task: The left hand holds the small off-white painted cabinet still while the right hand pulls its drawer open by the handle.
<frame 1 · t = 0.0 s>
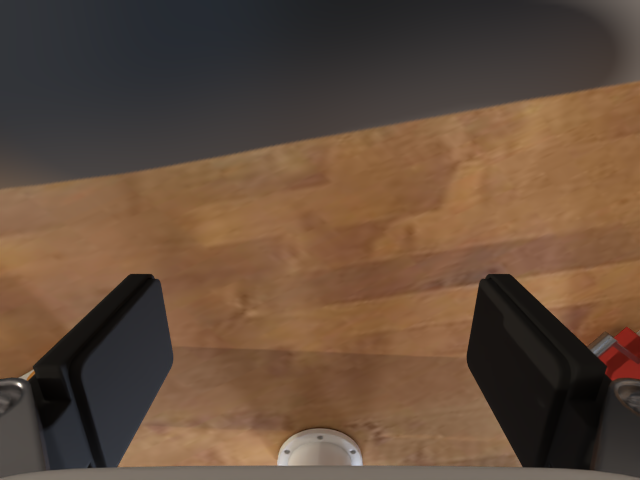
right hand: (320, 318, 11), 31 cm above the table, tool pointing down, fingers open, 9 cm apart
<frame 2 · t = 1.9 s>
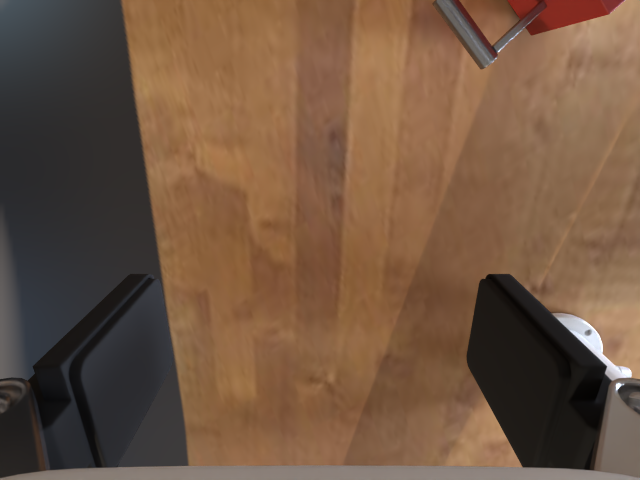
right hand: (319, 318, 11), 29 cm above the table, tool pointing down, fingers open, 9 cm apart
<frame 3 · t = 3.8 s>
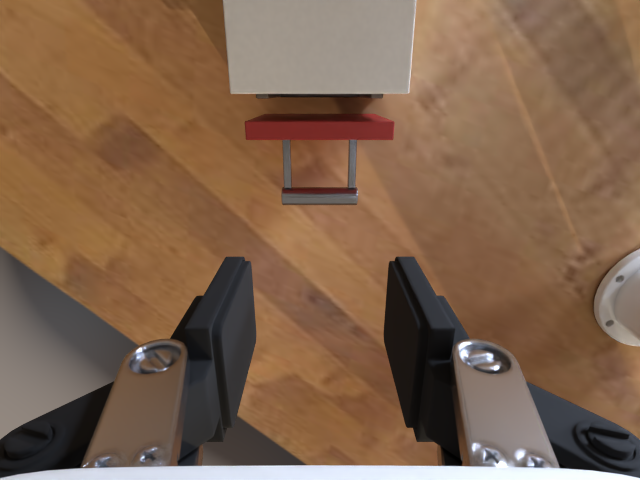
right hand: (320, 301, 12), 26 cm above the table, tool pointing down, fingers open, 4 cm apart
drawer: (319, 69, 28), point 6 cm above the table, slide at 1.7 cm
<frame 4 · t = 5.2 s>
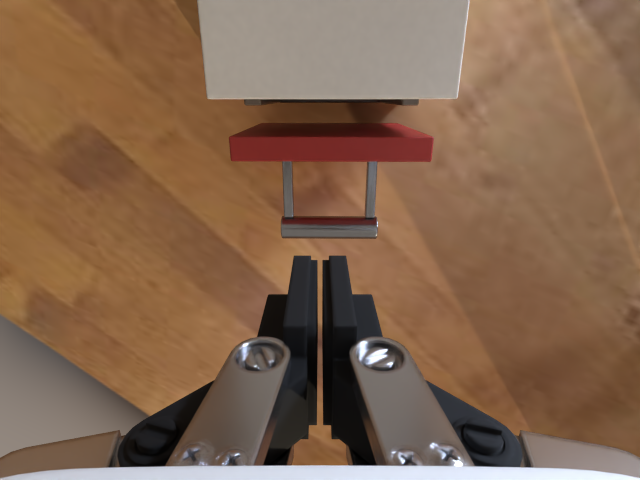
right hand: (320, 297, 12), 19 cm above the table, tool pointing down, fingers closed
drawer: (330, 66, 21), point 6 cm above the table, slide at 1.7 cm
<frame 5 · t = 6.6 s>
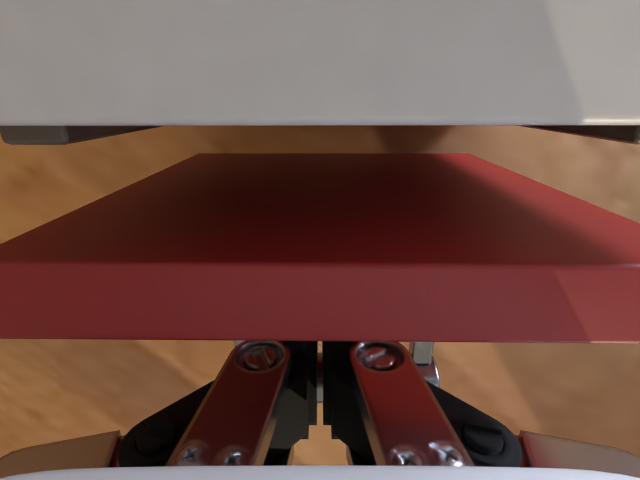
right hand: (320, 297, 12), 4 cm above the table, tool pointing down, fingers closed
drawer: (338, 24, 8), point 6 cm above the table, slide at 1.7 cm
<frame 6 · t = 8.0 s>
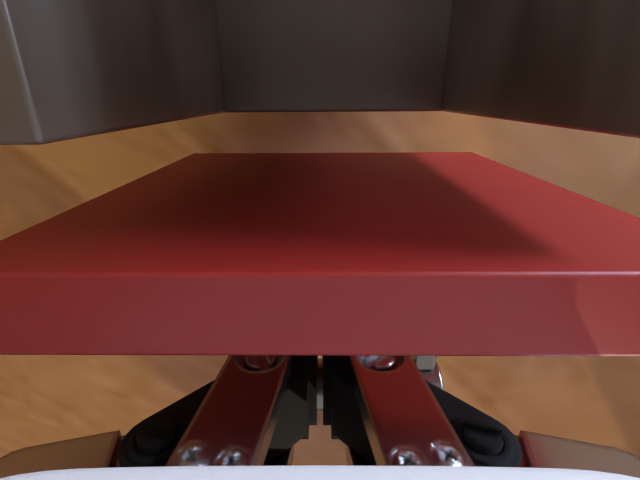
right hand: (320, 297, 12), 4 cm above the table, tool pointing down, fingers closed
drawer: (337, 17, 8), point 6 cm above the table, slide at 8.0 cm, touching right hand
when the left hand's fingers open (7 cm above the table, at t = 9.8 s): cabinet stays where it is, on the table.
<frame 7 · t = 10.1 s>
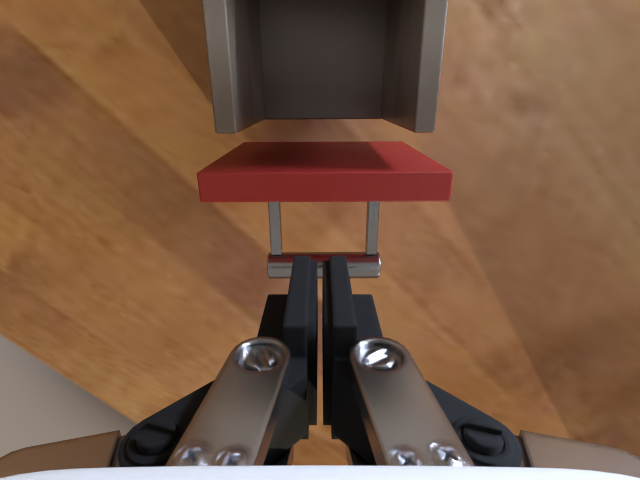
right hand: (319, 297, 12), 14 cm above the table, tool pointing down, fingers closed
drawer: (323, 80, 18), point 6 cm above the table, slide at 8.2 cm
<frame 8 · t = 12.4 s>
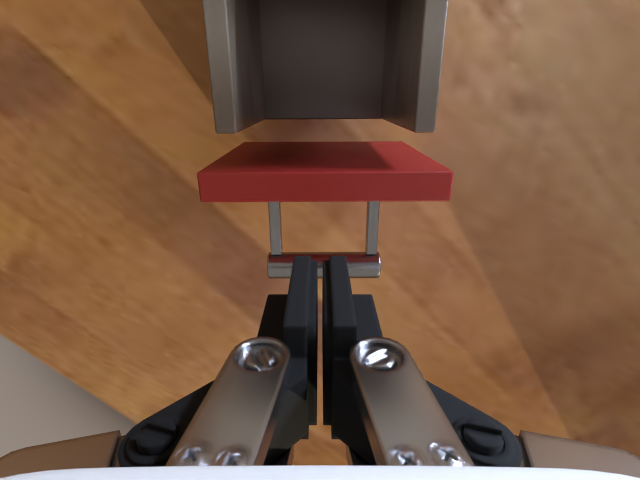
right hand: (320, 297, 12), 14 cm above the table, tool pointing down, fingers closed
drawer: (323, 80, 18), point 6 cm above the table, slide at 8.2 cm
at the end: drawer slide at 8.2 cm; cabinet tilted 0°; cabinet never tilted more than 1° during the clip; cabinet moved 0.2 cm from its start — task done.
